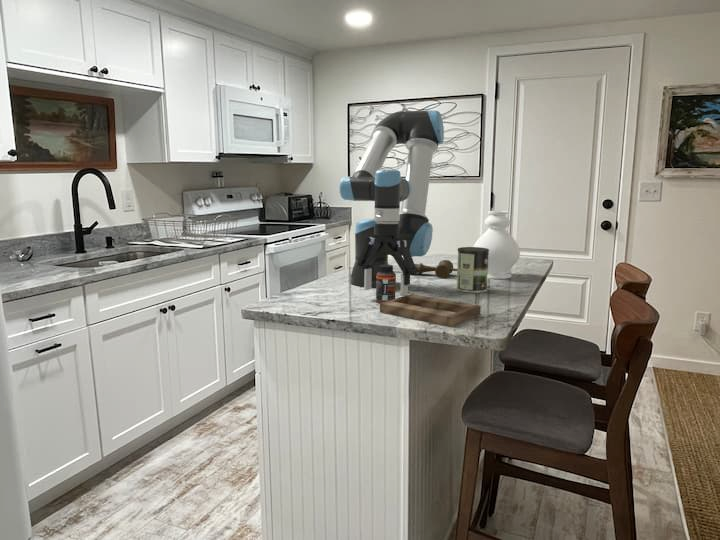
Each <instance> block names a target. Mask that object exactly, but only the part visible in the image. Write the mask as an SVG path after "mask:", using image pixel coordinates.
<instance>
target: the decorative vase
mask: <svg viewBox="0 0 720 540" xmlns="http://www.w3.org/2000/svg"><path fill="white" fill-rule="evenodd" d="M487 214H489V215H488V216H487V217H485V220H484V224H485V226H486V227H487V228H488V229H487V230H486V231H484V233H482V235H480V236H479V238H478V239H477V240H476V241H475V242H474V244H473V246H472V247H480V248H487V249H489V255H488V275H487V279H491V280H506V279H510V278H512V274H510V273H508V272H509V271H510V270H511V269H512V268H513V267H514V265H516V263H517V262H518V261H519V259H520V257H521V250H520V246H519V244H518V243H517V240H515V238H514V237H513V236H512V235H511V233H509V231H508V230H507V229H506V228H508V227H509V226H510V224H511V219H510V218H509V217H508V216H507V215H508V214H509V211H508V210H488V211H487Z"/></svg>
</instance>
